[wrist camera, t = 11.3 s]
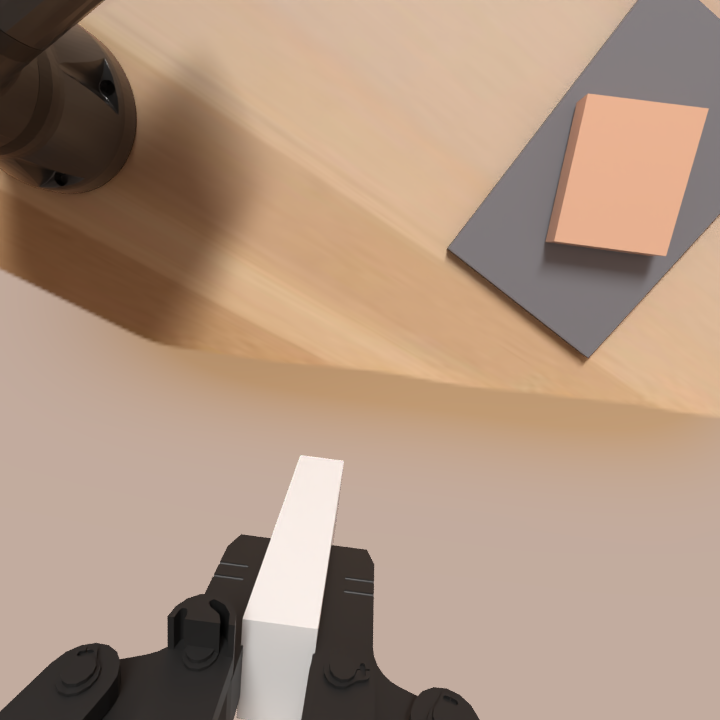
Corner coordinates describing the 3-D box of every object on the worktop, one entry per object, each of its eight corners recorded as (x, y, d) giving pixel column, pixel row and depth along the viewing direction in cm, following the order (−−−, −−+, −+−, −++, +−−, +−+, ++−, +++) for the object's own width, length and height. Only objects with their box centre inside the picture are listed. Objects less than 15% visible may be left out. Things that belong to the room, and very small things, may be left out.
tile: (666, 256, 39) (708, 108, 36) (554, 241, 39) (587, 93, 36) (649, 256, 41) (688, 117, 38) (544, 242, 42) (575, 103, 39)
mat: (447, 248, 43) (448, 248, 42) (656, -25, 37) (663, -32, 36) (583, 355, 45) (588, 357, 44) (805, 111, 39) (816, 107, 38)
